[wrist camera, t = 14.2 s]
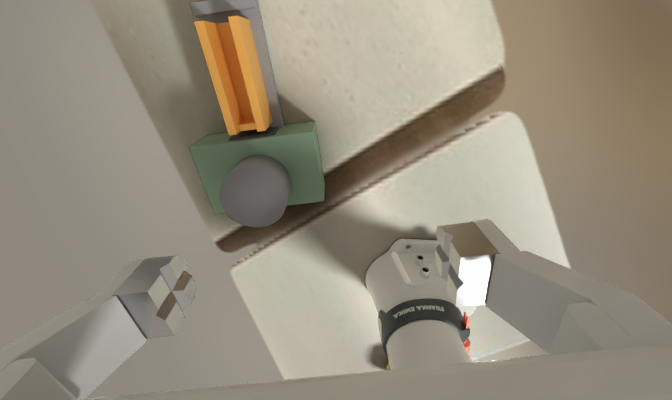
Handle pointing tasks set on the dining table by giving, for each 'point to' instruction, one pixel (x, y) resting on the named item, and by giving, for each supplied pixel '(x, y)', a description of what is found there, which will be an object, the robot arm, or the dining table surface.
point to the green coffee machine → (257, 145)
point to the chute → (235, 73)
